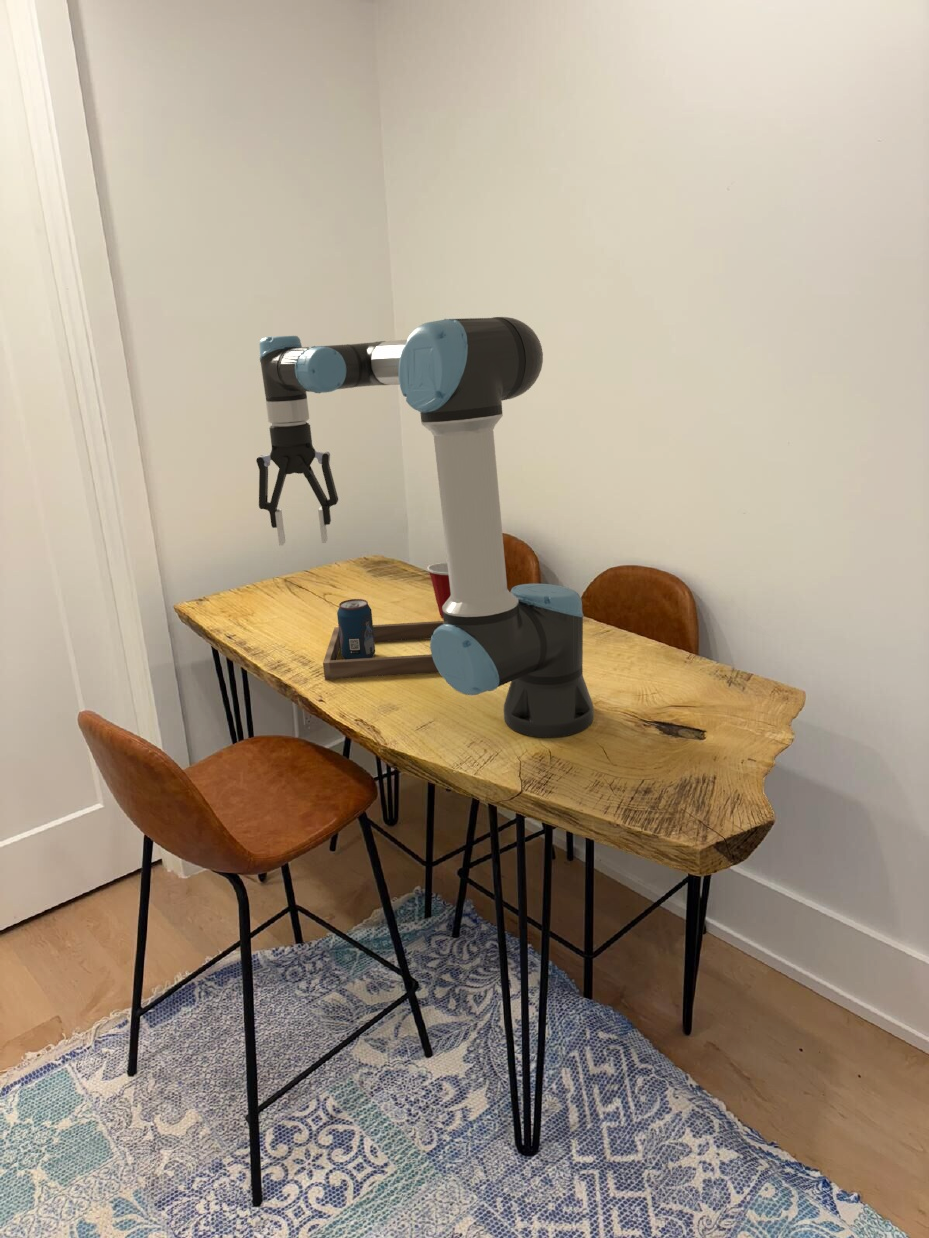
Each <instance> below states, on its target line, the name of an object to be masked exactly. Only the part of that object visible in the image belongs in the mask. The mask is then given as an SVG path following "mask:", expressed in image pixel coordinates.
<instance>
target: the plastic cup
mask: <svg viewBox="0 0 929 1238" xmlns="http://www.w3.org/2000/svg"><path fill="white" fill-rule="evenodd" d="M426 569H427V572H428V573H429V577H430V581H431V582H432V588H433V593H434V597H435V601H436V604H437V609H438V612H439V615H440V618H441V619H443V610H442V606H443V605H444V603H445V602H446V601H447V600H448V599H449V597H450V595H451V592H450V582H449V573H448V564H447V562H439V563H434V564H430V565H428V566H427V567H426Z"/></svg>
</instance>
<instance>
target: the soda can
mask: <svg viewBox="0 0 929 1238" xmlns="http://www.w3.org/2000/svg"><path fill="white" fill-rule="evenodd" d="M338 605H339V606H338V609H337V612H336V617H337V627H339V636H340V654H341V656H342V658H343V660H346V659H362V658H374V656H375V654H376V646H375V645H376V644H375V643H376V642H374V632H373V625H374V624H373V623H374V622H373V614H372V611H373V610H372V609H371V607H370V605H369V604H368V601H367V600H366V599H362V598H352V599H351V598H350V599H347V600H343V601H341V602H340V603H339V604H338Z"/></svg>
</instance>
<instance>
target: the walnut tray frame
mask: <svg viewBox="0 0 929 1238" xmlns="http://www.w3.org/2000/svg"><path fill="white" fill-rule="evenodd" d="M443 624H444V620H438V621H437V620H436V621H435V620H434V621H420V622H419V621H418V622H404V623H401V622H400V623H389V624H387V623H385V624H373V632H374V642H375V643H383V642H384V643H385V642H399V641H401V642H402V641H418V640H431V637H432V635H433V633H434V631H435V630H436V629H437V628H438V627H439V626H441V625H443ZM340 651H341V646H340V636H339V627H338V626H337V627H336V626H335V627H334V628H333V631H332V634H331V638H330V640H329V643H328V646H327V649H326V653H325V656H324V659H323V661H322V666H323V677H324V680H325V681H327V680H329V681H331V680H343V679H345V680H346V679H358V678H359V679H360V678H376V677H377V678H378V677H392V676H408V675H425V674H426V675H427V674H440V673H439V671H438V669H437V668H436V665H435V663H434V661H433V658H432V654H431V653H430V654H418V655H417V654H416V655H415V654H414V655H401V656H400V655H398V656H397V655H396V656H384V657H383V656H382V657H381V656H380V657H373V658H362V659H346V660H345V659H338V657H339V653H340Z"/></svg>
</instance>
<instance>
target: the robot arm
mask: <svg viewBox="0 0 929 1238" xmlns="http://www.w3.org/2000/svg"><path fill="white" fill-rule="evenodd" d="M258 346H259V352H260V353H259V363H260V366H261V376H262V382H263V388H264V395H265V404H266V412H267V413H266V414H267V420H268V421H267V422H268V423H270V424H271V425H270V426H269V436H270V444H271V451H270V452H269V453H270V454H267V455H259V456H258V457H257V458H256V464H257V466H258V471H259V473H258V474H259V475H258V476H259V477H258V478H259V479H258V507H259V509H261V510H266V511H268V512H269V518H270V524H271V528H272V529H274V528H275V529H276V530H277V537H278V544H279V546H284V544H285V543H286V534H285V527H284V519H283V511H282V509H281V508H280V509H278V508H279V507H278V505H279V502H280V498H281V495H282V492H283V487H284V484H285V482H286V477H287V475H292V474H298V475H299V474H300V475H301V474H303V475H304V477H305V478H306V480H307V483H308V485H309V486H310V488H311V489H312V491H313V493H314V495H315V497H316V499H317V500H318V502H319V504H320V507H319V508H318V518H319V528H320V536H321V543H322V544H324V543H325V544H326V543H327V541H328V533H327V526H328V525H330V524H331V521H332V519H331V518H332V517H331V516H332V515H331V509H330V508H331V507H333V506H336V505H337V503H338V501H339V496H338V493H337V488H336V485H335V481H334V477H333V474H332V469H331V466H330V465H331V464H330V463H331V462H330V461H331V454H330V452H329V451H325V452H321V451H316V449H315V448H314V447H313V439H312V432H311V431H312V430H311V424H310V423H309V422H307V421H310V420H309V419H310V413H309V412H310V411H309V404H308V395H307V392H310V393H314V394H321V393H325V394H326V393H331V392H334V391H336V390H343V389H344V390H345V389H353V388H360V387H361V388H362V387H374V386H391V385H392V386H399V388H400V391H401V395H402V396H403V397H406V398H405V402H406V403H407V404H408V405H409V407H411V408H412V409H414V411H418V412H419V413H420V420H421V421H420V422H421V425H422V426H423V427H425V429H426V430H427V431H430V433H431V434H432V435H433V441H434V444H433V445H434V452H435V461H436V469H437V470H436V471H437V480H438V490H439V498H440V507H441V509H440V510H441V515H442V526H443V536H444V542H445V543H444V544H445V551H446V553H445V554H446V563H447V564H448V573H449V582H450V592H451V595H450V597H449V599H448V600H447V601H446V602H445V603H444V605H443V606H442V610H443V618H442V619H443V620H442V621H444V624H443V625H441V626H439V627H438V628H437V629H436V630H435V631H434V633H433V635H432V637H431V639H430V641H429V642H430V643H429V645H430V654H432V658H433V661H434V663H435V665H436V668H437V669H438V671H439V673H438V674H440V676H441V677H442V678H443V679H444V680H445V682H446V684H448V686H450V687H451V688H452V689H453V690H455V691H457V692H458V693H461V694H463V695H466V696H477V695H480V694H483V693H486V692H492V691H494V690H497V688H498V687H499V688H500V687H501V686H504V685H506V684H509V683H510V684H509V688H508V691H507V694H506V698H505V700H504V704H503V720H504V723H505V724H506V725H507V726H508V727H509V729H511V730H513V731H515V732H516V733H519V734H522V735H526V736H529V737H535V738H561V737H566V736H567V737H568V736H572V735H575V734H578V733H580V732H582V731H584V730H586V729H587V728H588V727H590V726H591V724H592V723H593V720H594V704H593V701H592V698H591V694H590V692H589V689H588V687H587V683H586V680H585V679H584V675H583V672H584V671H583V661H584V659H583V657H584V655H583V654H584V652H583V651H584V650H583V647H584V645H583V643H584V641H583V640H584V634H583V633H584V631H583V630H584V613H583V603H582V601H583V600H582V597H581V596H580V594H579V593H578V592H577V591H576V590H574V589H572V588H569V587H566V586H561V585H557V584H550V583H549V584H548V583H523V584H518V585H515V586H513V587H512V588H511V590H510V591H509V589H508V581H507V572H506V571H507V570H506V561H505V560H506V559H505V548H504V536H503V525H502V513H501V512H502V511H501V504H500V503H501V502H500V491H499V481H498V479H499V478H498V469H497V459H496V458H497V457H496V445H495V444H496V443H495V436H494V429H495V427H496V425H497V424H498V422H500V420H501V418H503V413H504V412H503V403H502V402H503V401H507V400H511V399H514V398H517V397H519V396H522V395H523V394H525V393H526V392H528V390H530V389H531V388H532V387H533V385H534V384H535V383H536V381H537V380H538V378H539V376H540V375H541V371H542V369H543V368H542V367H543V362H544V352H543V347H542V346H543V345H542V344H541V340H540V339H539V337H538V335H537V334H536V333H535V331H534V329H532V328H531V327H530V326H529V325H528V324H527V323H525V322H524V321H521V320H519V319H516V318H513V317H507V316H496V317H495V316H494V317H476V318H475V317H473V318H471V317H469V318H444V319H441V320H439V319H438V320H433V321H429V322H424V323H422V324H420V325H419V326H417V327H416V328H414V329H413V331H411V332H410V334H409V335H408V337H407V339H400V340H387V341H386V340H384V341H383V340H382V341H374V342H361V343H351V344H350V343H349V344H348V343H347V344H334V345H331V344H330V345H319V346H318V345H317V346H315V345H314V346H304V347H303V346H302V342H301V339H300V337H299V336H298V335H278V336H266V337H262V338H261V339H260V340H259V345H258ZM315 459H317V462H318V464H319V465H321V470H322V475H323V478H324V482H325V487H326V489H327V493H328V497H327V495H326V494H325V491H324V489H323V488H322V486H321V484H320V482H319V481H318V479H317V477H316V475H315V472H314V470H313V468H312V466H311V465H312V463H313V461H314V460H315ZM271 462H273V463H274V464H275V466H276V467H277V468H279V470H278V473H277V475H276V476H277V477H276V481H275V485H274V488H273V490H272V491H273V492H272V495H271V498H270V502H268V501H269V500H268V496H269V494H268V493H269V489H268V488H269V466H271Z"/></svg>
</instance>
